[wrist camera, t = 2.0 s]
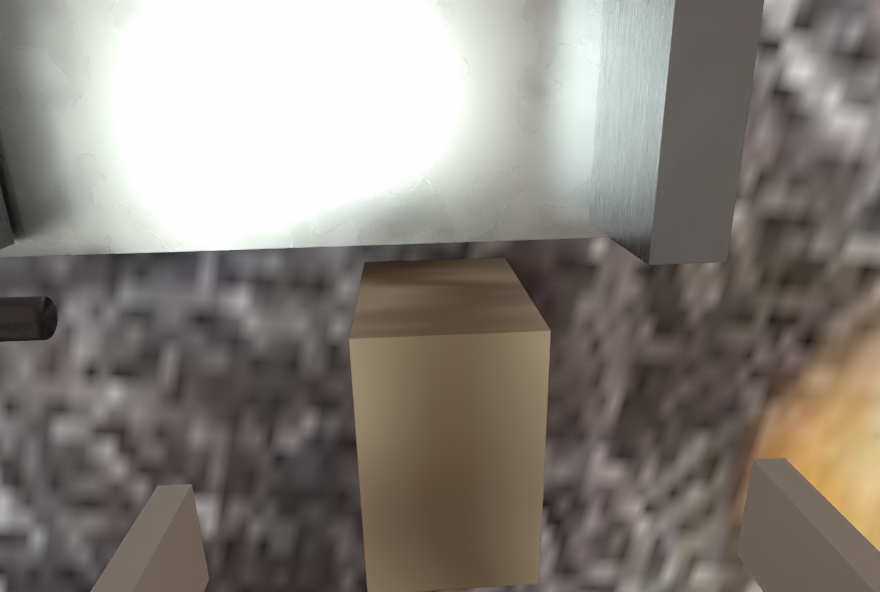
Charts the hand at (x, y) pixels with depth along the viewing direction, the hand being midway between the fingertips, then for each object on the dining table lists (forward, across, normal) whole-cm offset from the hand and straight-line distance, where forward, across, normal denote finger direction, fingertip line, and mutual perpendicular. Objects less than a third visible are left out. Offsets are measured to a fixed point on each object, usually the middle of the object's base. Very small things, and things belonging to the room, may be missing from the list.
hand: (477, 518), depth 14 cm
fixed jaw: (+8, +5, +10) cm, 14 cm away
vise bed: (+9, -6, +10) cm, 14 cm away
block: (+9, -1, 0) cm, 9 cm away
